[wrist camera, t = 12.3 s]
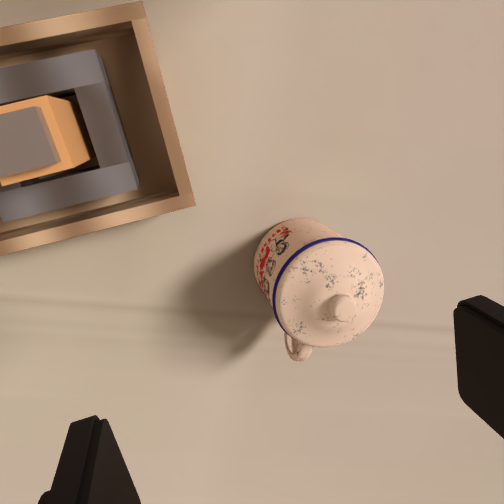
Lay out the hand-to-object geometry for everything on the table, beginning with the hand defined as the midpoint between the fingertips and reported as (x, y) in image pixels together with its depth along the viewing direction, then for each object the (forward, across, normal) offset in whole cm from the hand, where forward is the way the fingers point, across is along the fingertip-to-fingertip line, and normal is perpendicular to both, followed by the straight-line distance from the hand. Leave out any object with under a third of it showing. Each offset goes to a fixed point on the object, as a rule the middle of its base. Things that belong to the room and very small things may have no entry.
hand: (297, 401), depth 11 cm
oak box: (+28, +9, -8) cm, 31 cm away
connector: (+27, +9, -8) cm, 30 cm away
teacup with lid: (+28, -7, +9) cm, 31 cm away
